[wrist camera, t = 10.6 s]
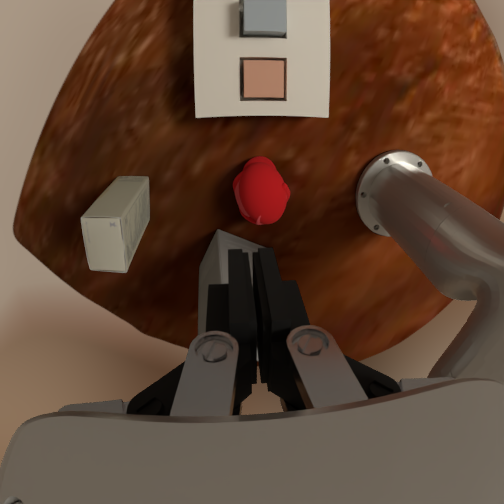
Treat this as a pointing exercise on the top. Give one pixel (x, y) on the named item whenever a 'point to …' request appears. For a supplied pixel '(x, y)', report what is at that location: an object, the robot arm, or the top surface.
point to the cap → (260, 191)
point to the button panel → (261, 48)
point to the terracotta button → (263, 78)
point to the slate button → (264, 17)
